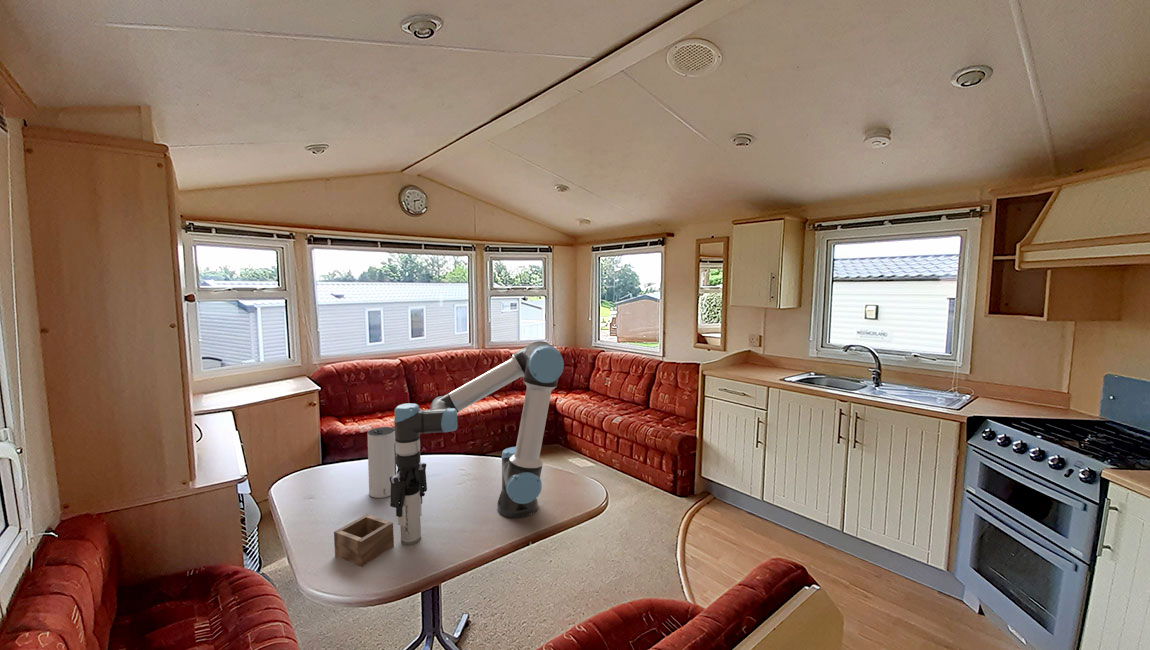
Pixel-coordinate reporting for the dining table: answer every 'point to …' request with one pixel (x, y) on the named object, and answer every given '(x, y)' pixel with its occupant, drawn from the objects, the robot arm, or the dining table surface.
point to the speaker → (381, 461)
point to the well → (363, 540)
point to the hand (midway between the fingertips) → (410, 519)
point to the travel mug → (411, 515)
